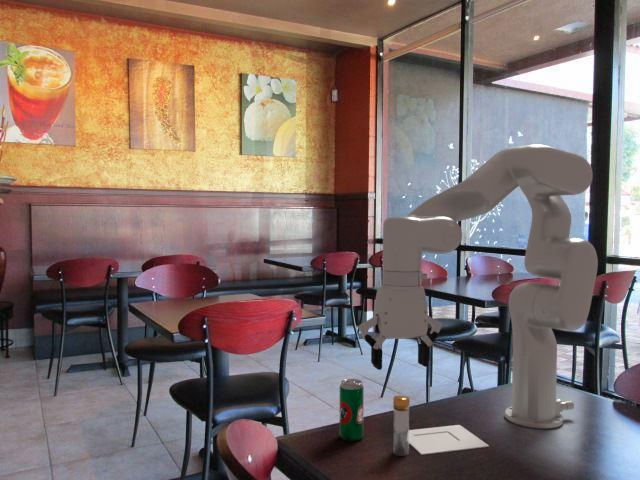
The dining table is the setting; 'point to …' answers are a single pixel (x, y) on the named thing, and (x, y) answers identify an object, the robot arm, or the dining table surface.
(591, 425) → the dining table surface
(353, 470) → the dining table surface
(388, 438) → the dining table surface
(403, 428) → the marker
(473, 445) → the paper
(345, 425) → the soda can
